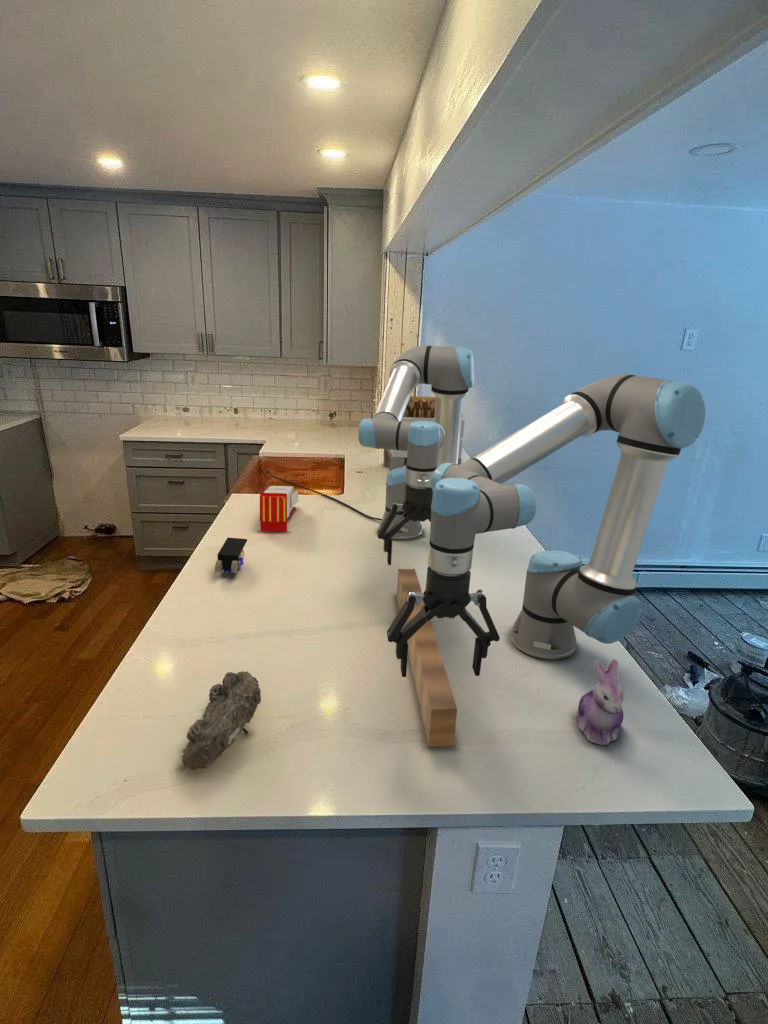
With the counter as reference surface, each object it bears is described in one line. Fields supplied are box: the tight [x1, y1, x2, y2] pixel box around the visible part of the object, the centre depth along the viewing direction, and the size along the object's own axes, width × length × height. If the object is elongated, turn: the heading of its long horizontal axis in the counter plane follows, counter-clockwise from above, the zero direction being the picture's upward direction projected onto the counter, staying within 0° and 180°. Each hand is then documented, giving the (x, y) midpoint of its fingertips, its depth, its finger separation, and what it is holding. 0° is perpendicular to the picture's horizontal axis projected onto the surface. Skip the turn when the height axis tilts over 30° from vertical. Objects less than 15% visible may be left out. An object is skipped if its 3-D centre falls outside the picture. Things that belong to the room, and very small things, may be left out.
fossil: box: [181, 670, 262, 771], centre depth 103 cm, size 22×10×15 cm
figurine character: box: [214, 537, 248, 578], centre depth 166 cm, size 7×8×15 cm
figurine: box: [576, 658, 625, 746], centre depth 107 cm, size 9×10×15 cm
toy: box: [259, 485, 299, 533], centre depth 208 cm, size 12×13×30 cm
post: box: [396, 568, 458, 748], centre depth 129 cm, size 57×5×8 cm, turn 5°
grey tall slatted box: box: [383, 395, 465, 472], centre depth 268 cm, size 34×33×41 cm
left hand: (414, 563), depth 148 cm, fingers open, 13 cm apart
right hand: (439, 672), depth 105 cm, fingers open, 13 cm apart
